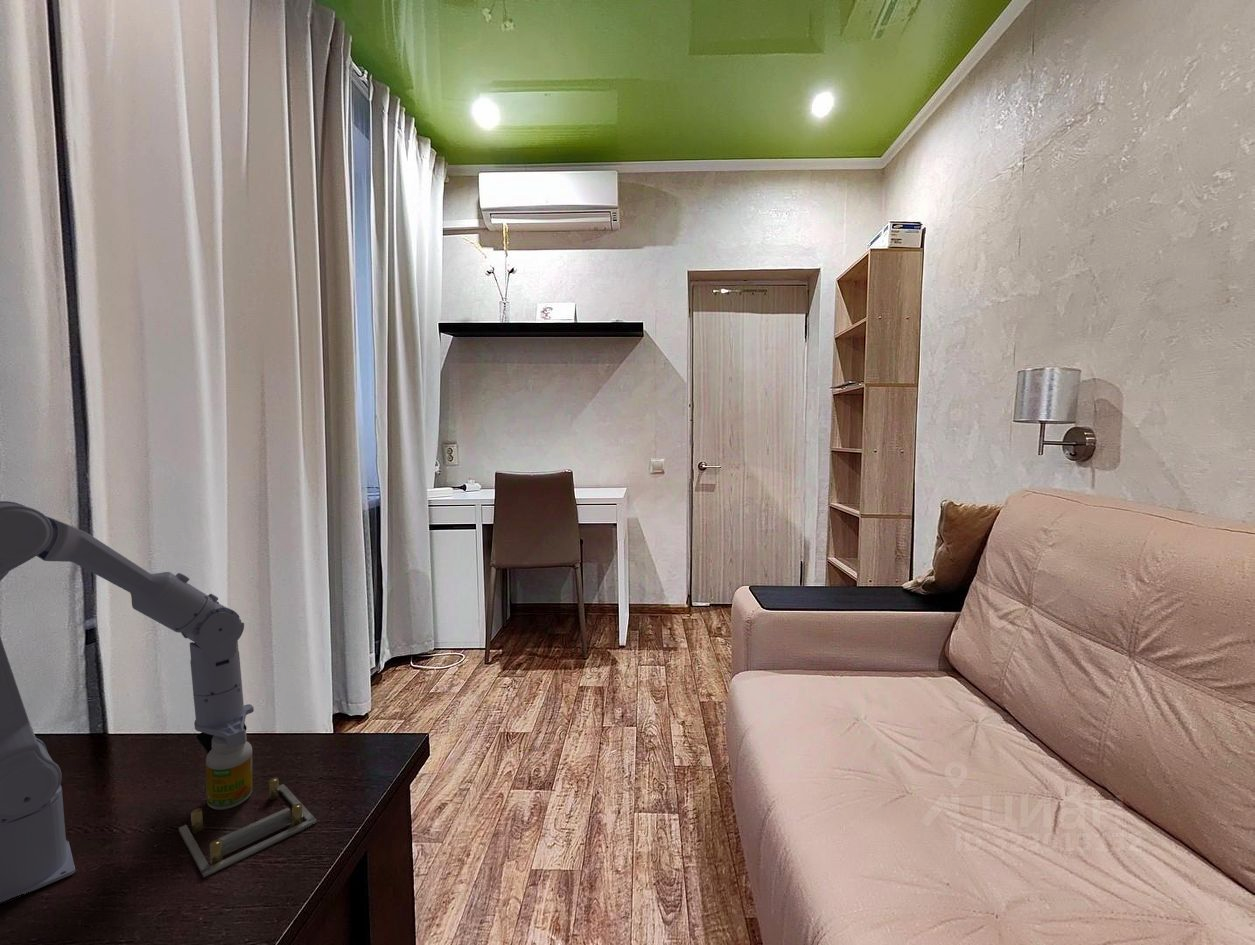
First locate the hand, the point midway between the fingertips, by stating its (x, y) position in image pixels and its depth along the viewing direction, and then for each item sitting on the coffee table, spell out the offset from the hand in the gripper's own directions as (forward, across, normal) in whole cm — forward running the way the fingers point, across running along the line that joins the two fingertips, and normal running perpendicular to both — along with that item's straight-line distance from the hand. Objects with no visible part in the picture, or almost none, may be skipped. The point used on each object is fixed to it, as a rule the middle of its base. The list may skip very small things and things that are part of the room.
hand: (226, 776), depth 84 cm
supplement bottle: (+2, -3, 0) cm, 3 cm away
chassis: (+2, -12, +1) cm, 12 cm away
